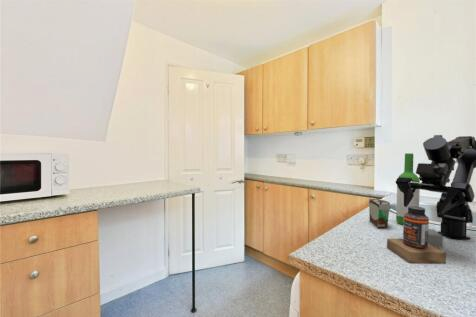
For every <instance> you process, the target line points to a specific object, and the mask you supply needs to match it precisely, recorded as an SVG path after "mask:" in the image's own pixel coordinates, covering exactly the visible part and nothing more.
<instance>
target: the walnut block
mask: <svg viewBox="0 0 476 317" xmlns="http://www.w3.org/2000/svg"><path fill="white" fill-rule="evenodd" d="M386 249H388V250H389V251H391V252H392V253H394V254H395V255H396V256H398V257H400V258H401V259H403V260H405V261H406V262H408V263H409V264H447V252H446V251H444V250H441V248H439V247H434V246H432V245H430V244H428V246H427V247H426V248H415V247H411V246H408V245H406V244H405V243H404V242H403V238H387V239H386Z"/></svg>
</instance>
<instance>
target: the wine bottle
mask: <svg viewBox="0 0 476 317" xmlns="http://www.w3.org/2000/svg"><path fill="white" fill-rule="evenodd" d="M404 153H405V152H404ZM403 169H404V171H403V172H402V173H401V174H399V175H398V177H406V178H412V180H413V182H418V183H421V181H420V180H419V175H418V174H416V173H414V153H411V152H410V153H407V152H406V153H405V154H404V168H403ZM420 190H421V189H416V190H415V192H414V193H413V194H414V196H413V198H412V200H411V201H410V203H409V205H408V206H407V207H405V206H404V193H403V192H401V191H400V189H399V188H398V186H397V185H396V207H395V208H396V212H395V215H396V216H395V222H396V223H398V224H399V225H402V226H404V214H405V213H408V207H409V206H417V207H420V195H421V194H420Z"/></svg>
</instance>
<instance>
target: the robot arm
mask: <svg viewBox="0 0 476 317" xmlns="http://www.w3.org/2000/svg"><path fill="white" fill-rule="evenodd" d="M422 146H423V148H424V152H425V154H426V157H427V159H428V160H429V161H430V163H426V162H425V163H424V162H423V163H421V162H419V163H417V166H416V171H415V174H416V175H417V176H418V178H419V180H420V183H418V182H413V180H412V178H406V177H399V176H398V177H397V178H396V180H395V185H396V187H397V186H398V188H399V189H400V191H401V192H403V193H404V206H405V207H407V206H408V205H409V203H410V201H411V200H412V198H413V196H414V194H413V193H414V192H415V190H416V189H420V190H424V191H429V192H433V193H441V195H440V198H439V200H438V201H437V203H436V217H437V218H439V219H440V218H441V222H440V231H437V232H438V233H439V234H440V235H442V236H443V237H448V238H449V239H452V240H453V239H454V240H471V237H470V236H467V224H470V223H471V224H473V222H474V217H473V216H474V215H473V211H472V209H471V206H470V205H469V203H472V202H474V199H475V192H474V190H473V187H472V185H471V184H470V182H471V179H472V176H473V173H474V169H475V168H476V138H475V136H471V135H470V136H469V135H466V136H457V137H455V138H454V139H452V140H449V141H447V139H446V138H444V137H443V134H434V135H433V137H430V138H428V139H426V140H425V141H423V143H422ZM456 163H457V167H456V170H455V165H456ZM453 171H455V173H454V176H453V178H452V182H451V183H450V181H451V179H450V177H451V174H452V172H453ZM447 183H450V186H449V185H448V186H447Z"/></svg>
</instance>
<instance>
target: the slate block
mask: <svg viewBox="0 0 476 317" xmlns="http://www.w3.org/2000/svg"><path fill="white" fill-rule="evenodd" d="M443 241H444V235H442V234H440V233H438V231H437V230H435V229H431V228H428V244H430V245H432V246H434V247H436V248H438V249H443V247H444V245H443V244H444V242H443Z"/></svg>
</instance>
